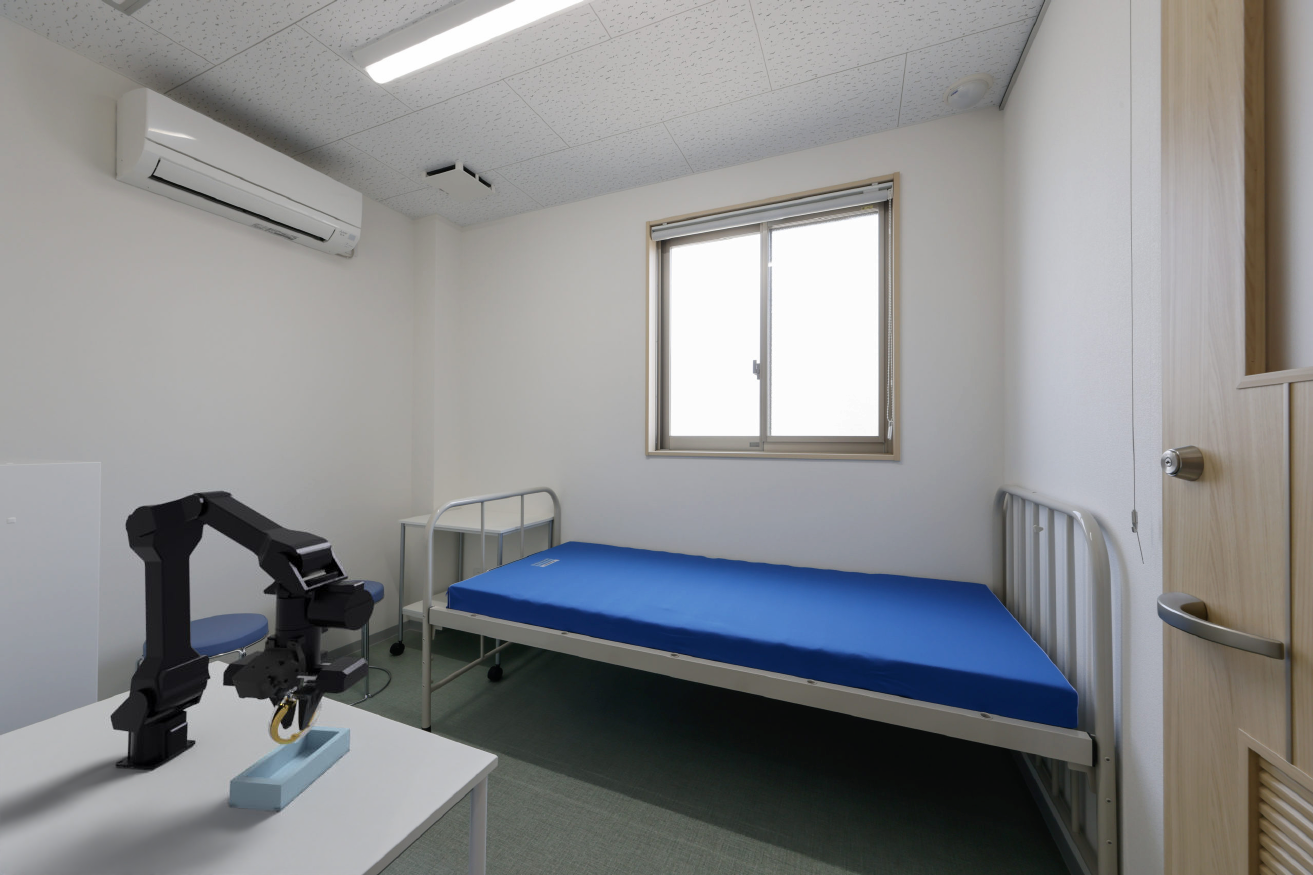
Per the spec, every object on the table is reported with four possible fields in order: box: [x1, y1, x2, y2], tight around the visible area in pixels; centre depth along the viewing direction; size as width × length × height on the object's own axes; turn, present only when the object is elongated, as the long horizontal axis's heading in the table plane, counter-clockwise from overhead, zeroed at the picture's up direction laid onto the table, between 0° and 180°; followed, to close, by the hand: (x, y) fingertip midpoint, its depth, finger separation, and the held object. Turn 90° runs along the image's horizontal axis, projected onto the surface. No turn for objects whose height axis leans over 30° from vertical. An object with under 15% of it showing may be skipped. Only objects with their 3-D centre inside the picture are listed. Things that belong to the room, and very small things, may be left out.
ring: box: [267, 687, 323, 745], centre depth 72 cm, size 7×3×8 cm, turn 156°
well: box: [228, 725, 351, 812], centre depth 71 cm, size 8×13×4 cm, turn 175°
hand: (295, 728), depth 71 cm, fingers closed on ring, 2 cm apart
